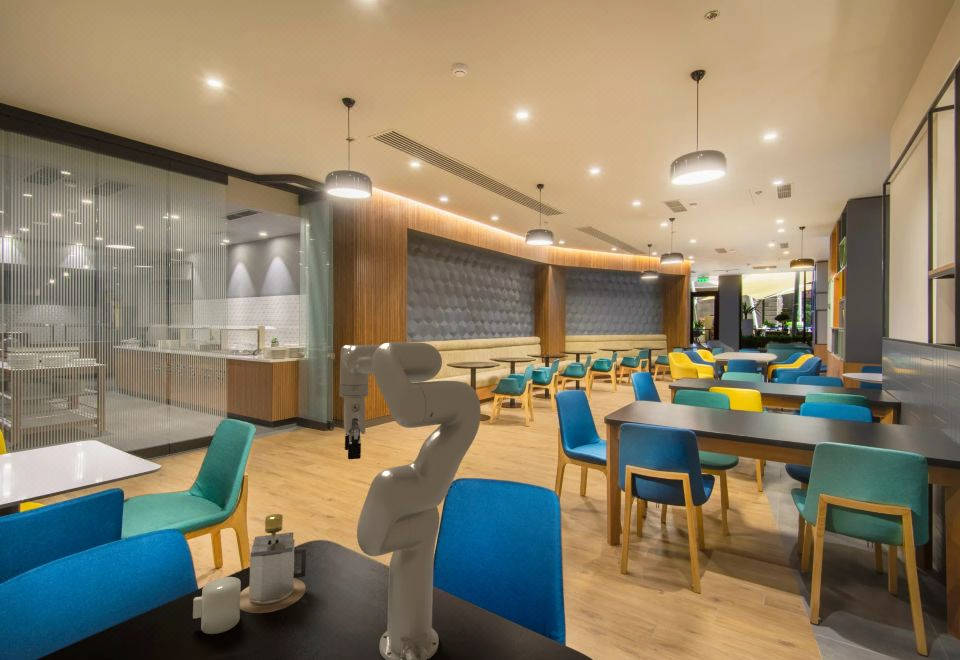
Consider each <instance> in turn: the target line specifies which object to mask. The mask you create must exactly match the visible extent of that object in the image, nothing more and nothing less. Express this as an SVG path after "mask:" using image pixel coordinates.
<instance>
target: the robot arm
mask: <svg viewBox="0 0 960 660" xmlns="http://www.w3.org/2000/svg"><path fill="white" fill-rule="evenodd" d="M339 361H340V362H339V363H340V365H339V394H338V395H339V397H341V398H343V428H344V431H345V435H344V451H347V459H348V460H359V459H361V457H362V455H361V454H362V441H361V434H362V435H365V434H366V400H365V399H366V398H367V397H368V396H369V379H370V377H369V376H370V375H373V376H374V380H375V382H376V384H377V386H378V388H379V391H380V393H381V395H382V396H383V400H384V402H385V403H386V406H387V408H388V411H389V413H390V415H391V417H392V419H393V420H394V421H395V423H396V424H398V425H399V426H401V427H403V428H407V429H411V428H415V429H416V428H422V427H430V426H438V425H439V426H438V427H437V428H436V429H435V430H433V432H432V433H431V434H429V436H428V437H426V438H425V440H424V442H423V443H422V445H421V447H420V449H419V452H418V454H417V457H416V458H415V459H414V461H413V462H410V463H408V464H404V465H399V466H394V467H393V466H392V467H390V468H386V469H384V470H382V471H380V472H379V473H377V475H376V476H375V477H374V478H373V479H372V481H371V483H370V487H368V491H367V495H366V496H365V499H364V502H363V505H362V508H361V511H360V515H359V517H358V520H357V521H358V522H357V526H356V539H357V545H358V547H359V548H360V550H361V551H362V552H363V553H364V554H365V555H366V556H369V557H379V556H384V555H386V554H387V555H388V554H391V553H392V554H391V557H390V561H389V565H388V566H389V567H388V596H387V628H386V629H387V630H386V631H385V632H384V633H383V634H382V636H381V637H380V640H379V652H380V655H381V656H382V657H383V659H384V660H427V659H428V660H430V659H431V658H432V657H433V656H434V655H435V654H436V653H437V652H438V648H439V644H440V643H439V639H440V637H439V635H438V633H437V631H436V630H435V629H434V627H433V600H434V599H433V592H434V588H433V587H434V563H435V562H434V560H435V559H434V558H435V548H436V542H437V538H438V534H439V533H438V532H439V528H440V527H439V526H440V513H439V509H438V506H440V505H441V504H442V503H443V501H444V499H445V498H446V496H447V494H448V491H449V489H450V487H451V485H452V483H453V481H454V479H455V477H456V474H457V472H458V470H459V467H460V465H461V463H462V461H463V459H464V457H465V456H466V454H467V453H468V451H469V449H470V447H471V446H472V444H473V443H474V440H475V438H476V435H477V434H478V431H479V427H480V423H481V417H482V416H481V415H482V414H481V413H482V412H481V411H482V410H481V403H480V398H479V395H478V393H477V391H476V390H475V389H474V388H473V387H472V386H471V385H470V384H468V383H466V382H462V381H457V380H436V381H435V380H433V381H429V380H431V379H433V378H435V377H436V376H437V375H438V374H439V373H440V371H441V369H442V366H443V359H442V355H441V353H440V351H439V350H438V349H437V348H436V347H435V346H433V345H431V344H429V343H425V342H419V341H417V342H416V341H414V342H409V341H408V342H407V341H405V342H404V341H403V342H401V341H398V342H396V341H394V342H391V341H390V342H389V341H388V342H385V343H384V342H383V344H345V345H343V346H342V347H341V349H340V360H339Z"/></svg>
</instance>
